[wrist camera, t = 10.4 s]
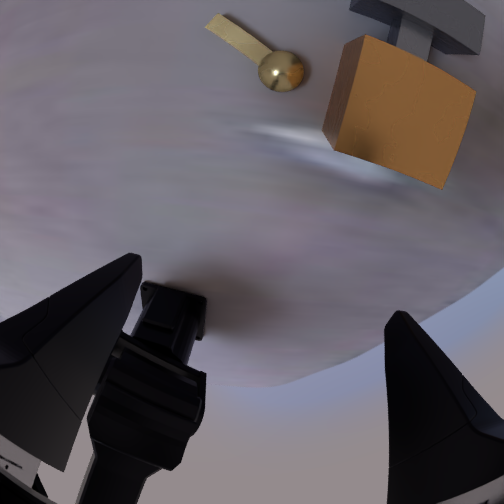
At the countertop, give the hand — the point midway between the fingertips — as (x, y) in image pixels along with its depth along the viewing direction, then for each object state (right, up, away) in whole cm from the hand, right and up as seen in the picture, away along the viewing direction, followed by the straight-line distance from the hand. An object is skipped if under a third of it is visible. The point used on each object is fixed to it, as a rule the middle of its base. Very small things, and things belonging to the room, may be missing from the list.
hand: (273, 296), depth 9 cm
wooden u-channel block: (+7, +11, +6) cm, 14 cm away
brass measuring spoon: (-1, +14, +5) cm, 15 cm away
